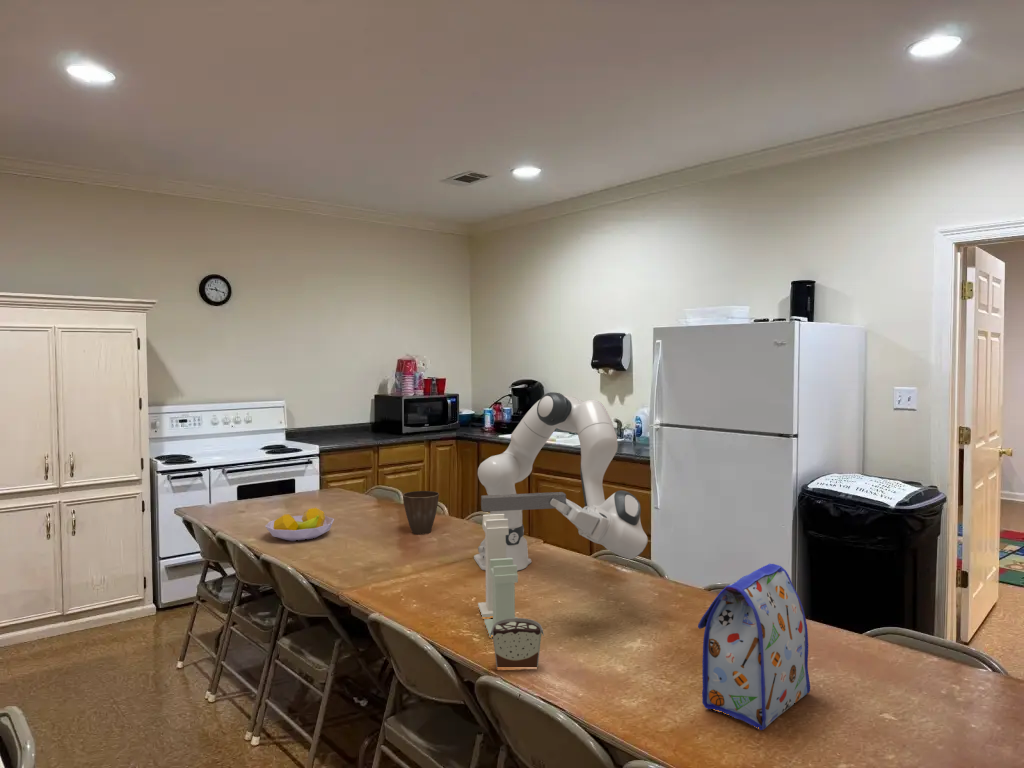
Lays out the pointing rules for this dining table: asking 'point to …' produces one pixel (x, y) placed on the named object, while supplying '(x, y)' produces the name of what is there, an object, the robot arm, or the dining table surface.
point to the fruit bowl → (300, 525)
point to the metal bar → (520, 501)
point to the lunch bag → (755, 648)
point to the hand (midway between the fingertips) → (548, 498)
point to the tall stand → (493, 553)
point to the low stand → (502, 590)
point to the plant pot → (421, 510)
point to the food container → (517, 642)
